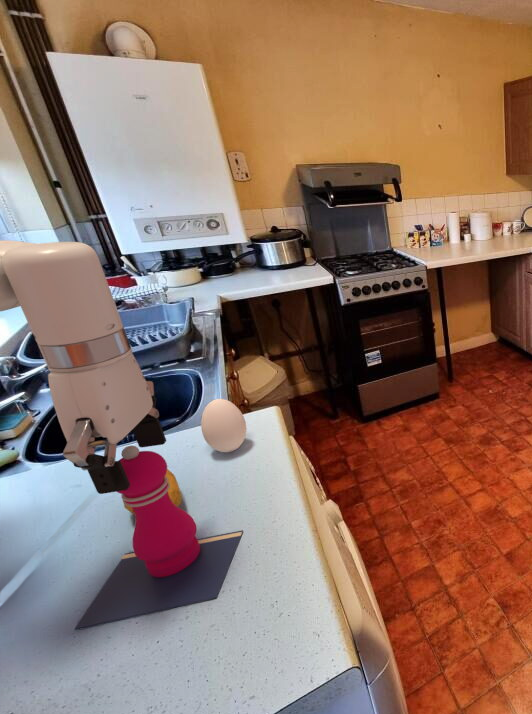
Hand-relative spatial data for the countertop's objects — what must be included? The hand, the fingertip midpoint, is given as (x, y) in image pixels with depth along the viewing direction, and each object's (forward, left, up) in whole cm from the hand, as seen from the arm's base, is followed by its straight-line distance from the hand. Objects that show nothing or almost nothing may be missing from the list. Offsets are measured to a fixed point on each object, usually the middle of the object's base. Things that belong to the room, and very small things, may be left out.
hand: (135, 465), depth 58 cm
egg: (-1, +28, -17) cm, 33 cm away
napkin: (0, -3, -17) cm, 17 cm away
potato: (-8, +13, -17) cm, 23 cm away
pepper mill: (0, 0, -17) cm, 17 cm away
